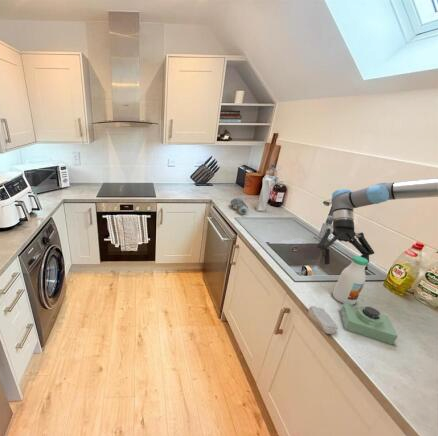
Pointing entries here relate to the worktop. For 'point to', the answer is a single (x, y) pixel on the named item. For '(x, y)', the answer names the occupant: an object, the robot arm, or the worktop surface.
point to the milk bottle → (351, 281)
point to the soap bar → (322, 320)
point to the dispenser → (368, 324)
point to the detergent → (239, 205)
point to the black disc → (371, 312)
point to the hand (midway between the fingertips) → (345, 267)
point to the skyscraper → (264, 195)
